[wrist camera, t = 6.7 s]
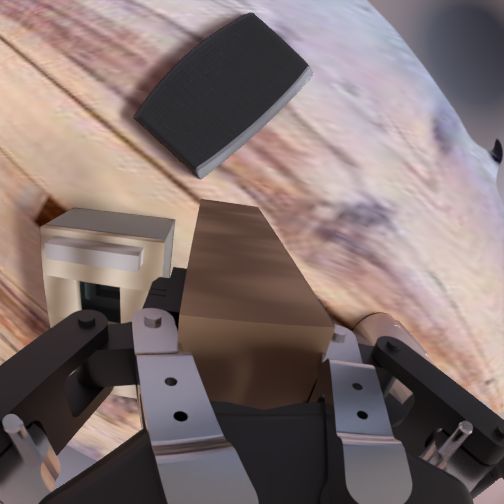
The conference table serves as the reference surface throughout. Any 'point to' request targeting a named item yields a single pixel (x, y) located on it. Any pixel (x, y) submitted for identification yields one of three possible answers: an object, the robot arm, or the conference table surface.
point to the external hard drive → (223, 93)
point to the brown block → (249, 312)
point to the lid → (98, 271)
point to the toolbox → (116, 223)
